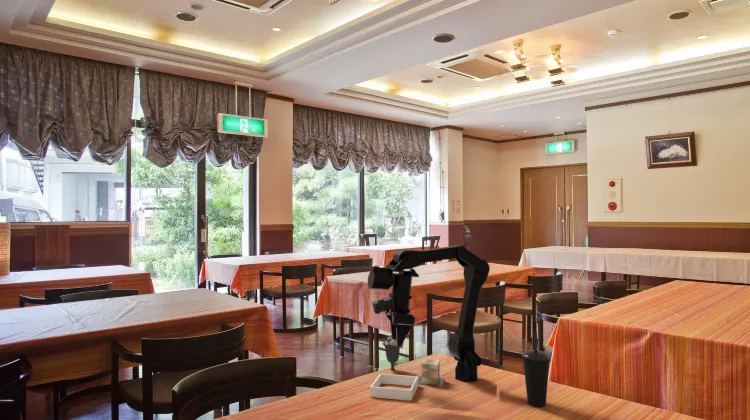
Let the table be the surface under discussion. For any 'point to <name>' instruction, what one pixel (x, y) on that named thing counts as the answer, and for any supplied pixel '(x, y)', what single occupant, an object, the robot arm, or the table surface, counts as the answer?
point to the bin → (394, 392)
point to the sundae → (392, 350)
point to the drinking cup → (536, 375)
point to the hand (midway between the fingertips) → (396, 342)
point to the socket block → (430, 371)
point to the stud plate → (432, 384)
